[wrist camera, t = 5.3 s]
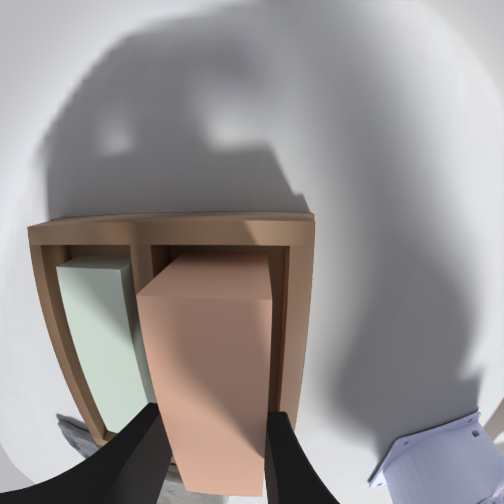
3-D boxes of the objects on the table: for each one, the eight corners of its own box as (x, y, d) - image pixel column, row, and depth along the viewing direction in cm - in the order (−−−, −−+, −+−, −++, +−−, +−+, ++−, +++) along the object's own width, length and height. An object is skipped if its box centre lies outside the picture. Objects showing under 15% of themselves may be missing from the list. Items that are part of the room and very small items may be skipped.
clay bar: (266, 252, 11) (272, 299, 7) (261, 424, 14) (261, 496, 9) (184, 251, 12) (136, 294, 7) (202, 422, 14) (186, 490, 9)
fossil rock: (227, 523, 21) (225, 537, 18) (111, 496, 21) (105, 509, 19) (232, 458, 17) (230, 482, 14) (62, 413, 17) (50, 430, 14)
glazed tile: (140, 256, 12) (120, 269, 10) (169, 419, 14) (161, 442, 12) (80, 255, 12) (56, 266, 10) (119, 409, 14) (107, 430, 12)
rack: (310, 212, 12) (327, 221, 9) (290, 433, 15) (294, 469, 12) (59, 217, 12) (22, 227, 9) (108, 414, 15) (91, 442, 12)
